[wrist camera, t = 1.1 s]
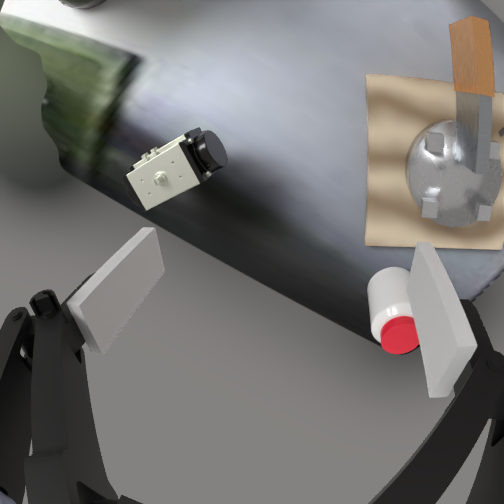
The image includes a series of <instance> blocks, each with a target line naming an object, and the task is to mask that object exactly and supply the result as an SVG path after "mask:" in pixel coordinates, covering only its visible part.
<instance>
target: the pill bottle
mask: <svg viewBox="0 0 504 504" xmlns="http://www.w3.org/2000/svg"><path fill="white" fill-rule="evenodd" d="M409 276H410V272H409V271H408V270H406V269H404V268H400V267H388V268H385V269H383V270H381V271H379V272H377V273H376V274H375V275H374V276H373V277H372V278H371V280H370V281H369V284H368V287H367V294H368V303H369V312H370V322H371V331H372V334H373V336H374V338H375V339H376V340H377V341H378V342H380V343H381V345H382V347H383V349H384V350H385V351H387V352H389V353H392V354H403V353H407V352H409V351H411V350H413V349H414V348H416V347H417V346H418V345H419V339H418V334H417V330H416V326H415V321H414V317H413V313H412V309H411V306H410V302H409V298H408V294H407V291H406V288H407V284H408V280H409Z"/></svg>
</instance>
